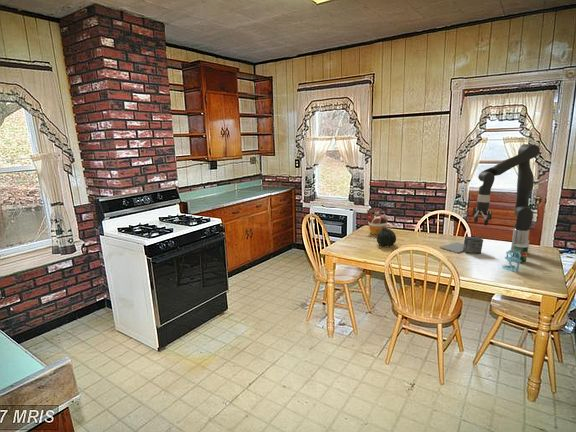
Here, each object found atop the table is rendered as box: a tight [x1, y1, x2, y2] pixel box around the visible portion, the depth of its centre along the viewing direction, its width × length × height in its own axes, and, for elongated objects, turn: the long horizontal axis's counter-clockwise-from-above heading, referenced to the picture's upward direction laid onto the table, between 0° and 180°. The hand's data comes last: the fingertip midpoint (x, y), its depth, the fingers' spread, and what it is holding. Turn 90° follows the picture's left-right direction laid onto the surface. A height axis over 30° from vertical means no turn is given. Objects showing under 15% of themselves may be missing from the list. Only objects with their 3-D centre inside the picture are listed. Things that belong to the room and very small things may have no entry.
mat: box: [439, 241, 465, 254], centre depth 260 cm, size 15×20×1 cm
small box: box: [463, 236, 484, 255], centre depth 248 cm, size 11×6×10 cm, turn 81°
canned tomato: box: [512, 244, 529, 264], centre depth 230 cm, size 8×8×11 cm
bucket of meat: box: [365, 209, 389, 236], centre depth 302 cm, size 20×16×20 cm
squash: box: [376, 227, 397, 248], centre depth 270 cm, size 14×15×15 cm
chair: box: [501, 249, 522, 273], centre depth 217 cm, size 8×8×12 cm
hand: (480, 223), depth 241 cm, fingers open, 8 cm apart
